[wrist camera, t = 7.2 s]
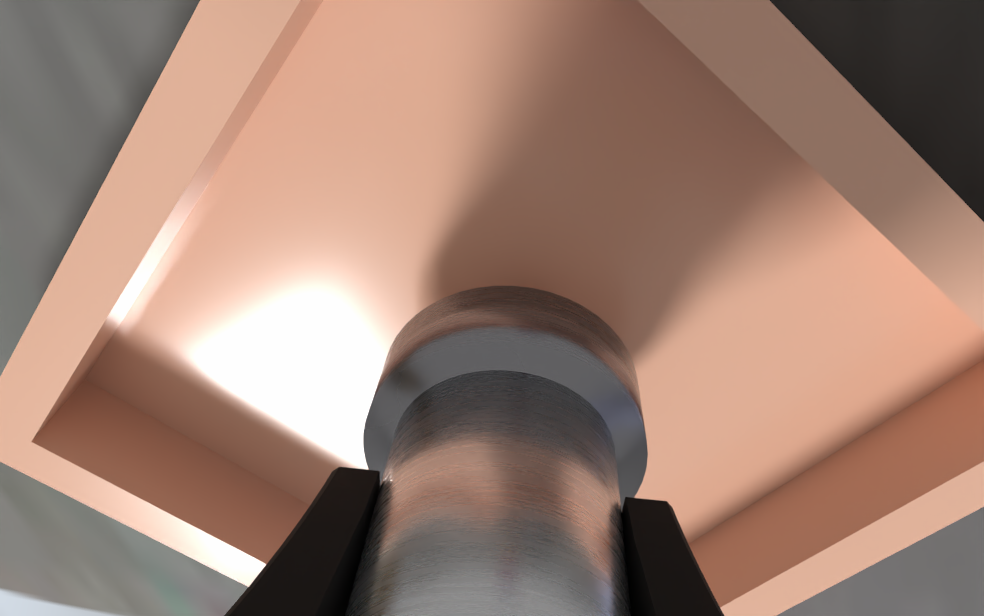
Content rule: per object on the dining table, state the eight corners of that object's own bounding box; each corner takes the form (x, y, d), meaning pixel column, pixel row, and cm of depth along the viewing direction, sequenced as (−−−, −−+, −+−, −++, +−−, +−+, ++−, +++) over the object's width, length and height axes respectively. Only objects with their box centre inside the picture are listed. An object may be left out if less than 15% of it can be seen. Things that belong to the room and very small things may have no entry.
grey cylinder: (670, 311, 12) (819, 930, 5) (603, 501, 14) (644, 1082, 8) (392, 263, 12) (173, 830, 5) (375, 463, 14) (212, 1017, 8)
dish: (1072, 322, 14) (1166, 410, 11) (545, 645, 21) (544, 736, 18) (437, -331, 9) (401, -380, 7) (41, 365, 16) (-35, 443, 14)
